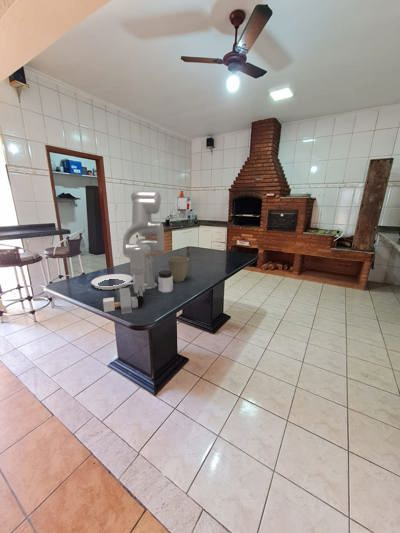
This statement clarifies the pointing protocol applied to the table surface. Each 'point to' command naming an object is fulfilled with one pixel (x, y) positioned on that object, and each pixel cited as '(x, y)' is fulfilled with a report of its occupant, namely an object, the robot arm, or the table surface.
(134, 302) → the block ended dumbbell
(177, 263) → the plant pot
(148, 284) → the robot arm
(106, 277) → the pan
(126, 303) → the block
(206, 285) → the table surface
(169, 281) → the jar
